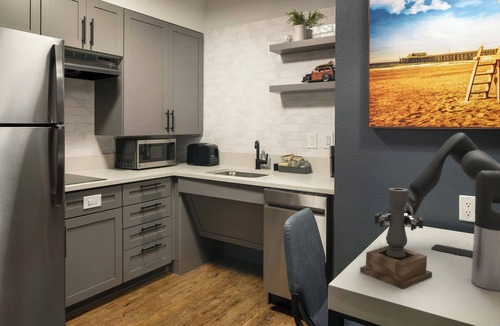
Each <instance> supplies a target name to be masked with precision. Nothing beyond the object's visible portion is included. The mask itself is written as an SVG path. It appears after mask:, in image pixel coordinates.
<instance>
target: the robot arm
mask: <svg viewBox="0 0 500 326" xmlns="http://www.w3.org/2000/svg"><path fill="white" fill-rule="evenodd" d="M449 156H450V157H451V158H452V160H453V161H455V163H457V164H458V165H460V166H461V169H462V171H463V173H465V175H466V176H467V177H468V178H470V179H471V180H472V181H474V182H475V183H474V184H475V185H474V195H475V196H474V204H475V205H474V230H473V231H474V232H473V245H472V246H473V248H472V251H473V258H471V259H472V260H471V261H472V263H471V273H470V274H471V277H470V278H471V279H470V281H471V283H472V284H473V285H475V286H476V287H480V288H483V289H484V290H485V289H486V290H490V291H495V292H496V291H497V292H500V212H497V211H496V210H495V209H493V208H492V204H498V205H499V204H500V163H499V162H498V161H497V160H495V158H494V157H492V156H491V155H490V154H488V153H487V152H485V151H483V150H480V149H479V147H478V146H477V145H476V144H475V142H474V141H472V139H471V138H470V137H469V136H468V135H467V134H465V133H464V132H457V133H454V134H453V135H452V136H450V137H449V138H448V139H447V140H446V141H445V142H444V144H443V145H441V147H440V148H439V150H437V152H436V153H435V155H434V156H433V158H432V160H430V161H429V163H428V165H427V166H426V167H425V169H424V170H423V171H422V172H421V173H420V174H418V176H417V177H415V178H414V179H413V181H412V182H411V183H410V184H409V185H408V190H409V191H410V193H411V194H412V196H413V199H412V198H411V197H410V196H409V195H408V201H407V204H406V205H405V208H406V209H407V212H405V214H404V226H405V228H406V227H407V228H410V231H415V230H416V229H417V227H418V228H419V229H423V228H424V218H423V217H424V216H422V215H418V216H417V217H414V216H416V214H417V212H418V210H419V209H420V206H421V204H422V203H423V201H424V200H425V198H426V196H428V195H429V193H431V192H432V191H433V190H434V189H435V187H436V186H437V185H438V184H439V182H440V179H441V176H442V173H443V168H444V164H445V162H446V159H447V158H448V157H449ZM388 204H389V208H390V207H391V205H390V202H389V201H388ZM390 222H391V213H390V211H389V210H388V212H387V213H385V214H383V213H382V211H378V212H376V213H375V215H374V224H375V225H376V224H378V225H379V226H380V228H384V226H385V225H387V226H389V225H390Z"/></svg>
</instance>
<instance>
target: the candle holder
mask: <svg viewBox="0 0 500 326" xmlns="http://www.w3.org/2000/svg"><path fill="white" fill-rule="evenodd" d="M409 191H410V190H409V188H404V187H390V188H388V195H387V199H388V203H389V202H390V205H391V207H390V205H389V207H388V212H389V211H390V213H391V222H390V225H388V229H387V233H386V235H385V241H386V243H387V246H389V248H390V249H389V250H388V251H387V252H386V255H387V256H388V257H391V258H394V259H397V260H403V259H406V258H405V257H406V254H405V253H404V251H403V249H405V248H404V247H405V246H407V243H408V237H407V232H406V227H405V226H404V214H405V212H407V209H406V208H405V205H406V204H407V201H408V196H409Z"/></svg>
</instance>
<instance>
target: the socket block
mask: <svg viewBox="0 0 500 326" xmlns="http://www.w3.org/2000/svg"><path fill="white" fill-rule="evenodd" d="M389 249H390V248H389V245H386V246H382V247H378V248H375V249H373V250H369V251H366V253H365V265H363V266H360V268H359V273H362V274H365V275H367V276H370V277H371V278H375V279H376V280H379V281H381V282H382V281H383V282H385V283H387V284H389V285H391V286H394V287H396V288H400V289H402V290H404V289H406V288H409V287H411V286H413V285H416V284H418V283H420V282H422V281H425V280H427V279H430V278H432V277H433V271H432V270H431V271H430V270H428V269H427V265H428V264H427V263H428V255H425V254H423V253H420V252H416V251H412V250H409V249H407V248H404V249H403V251H404V253H405V254H406V257H405V258H406V259H403V260H397V259H394V258H391V257H388V256H387V255H386V252H387V251H388V250H389Z"/></svg>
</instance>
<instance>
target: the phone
mask: <svg viewBox="0 0 500 326" xmlns="http://www.w3.org/2000/svg"><path fill="white" fill-rule="evenodd" d="M430 250H432V251H434V252H439V253H444V254H450V255H453V256H460V257H464V258H469V259H473V250H471V249H465V248H460V247H454V246H448V245H443V244H439V243H438V244H434V245H432V247H431V248H430Z"/></svg>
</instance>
